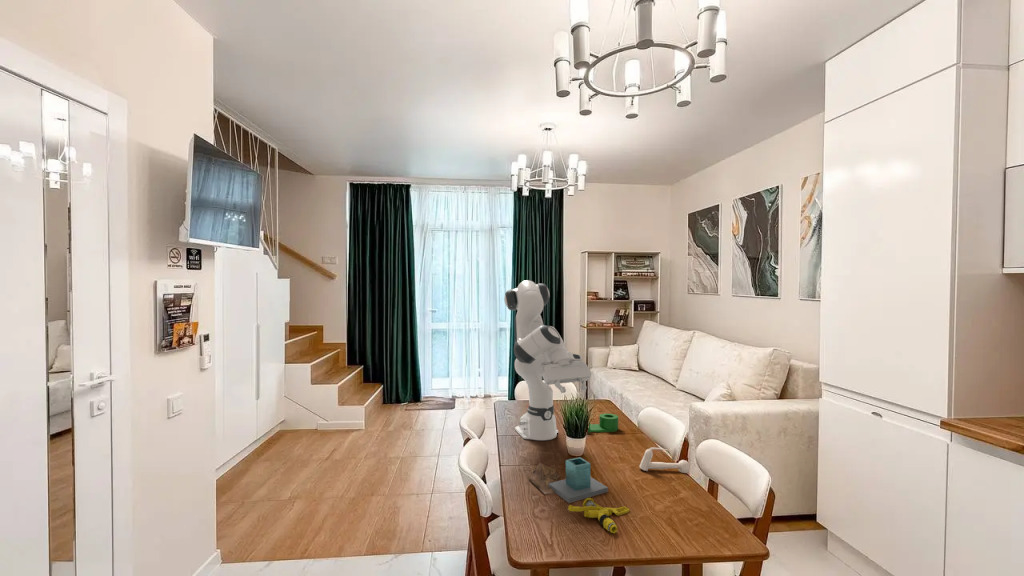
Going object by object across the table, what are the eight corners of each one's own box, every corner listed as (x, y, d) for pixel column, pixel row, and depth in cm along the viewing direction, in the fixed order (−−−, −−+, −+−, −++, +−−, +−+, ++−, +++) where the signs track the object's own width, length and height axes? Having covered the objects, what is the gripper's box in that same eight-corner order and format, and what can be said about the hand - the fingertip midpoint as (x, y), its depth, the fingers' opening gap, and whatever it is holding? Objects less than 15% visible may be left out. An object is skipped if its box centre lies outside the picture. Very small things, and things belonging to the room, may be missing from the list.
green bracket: (614, 426, 213) (614, 413, 213) (621, 431, 204) (621, 418, 204) (579, 427, 211) (579, 414, 211) (584, 433, 202) (584, 419, 202)
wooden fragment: (562, 496, 140) (562, 493, 140) (529, 495, 141) (529, 492, 141) (557, 464, 166) (557, 462, 166) (529, 464, 167) (529, 461, 167)
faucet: (686, 486, 157) (695, 461, 157) (640, 469, 158) (649, 444, 158) (682, 481, 161) (691, 456, 161) (638, 465, 163) (646, 440, 162)
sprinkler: (589, 524, 115) (564, 497, 129) (587, 538, 115) (562, 510, 129) (648, 520, 122) (618, 495, 136) (646, 534, 122) (616, 507, 136)
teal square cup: (565, 483, 146) (565, 460, 146) (580, 480, 148) (580, 457, 148) (575, 490, 140) (575, 466, 140) (590, 487, 143) (590, 463, 143)
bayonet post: (548, 487, 146) (548, 465, 146) (585, 478, 153) (585, 457, 153) (569, 503, 135) (569, 479, 135) (607, 491, 143) (607, 469, 143)
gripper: (540, 358, 165) (553, 388, 156) (584, 355, 174) (599, 383, 165) (535, 368, 169) (547, 398, 160) (578, 364, 178) (592, 392, 169)
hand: (574, 390), depth 163 cm, fingers open, 8 cm apart
